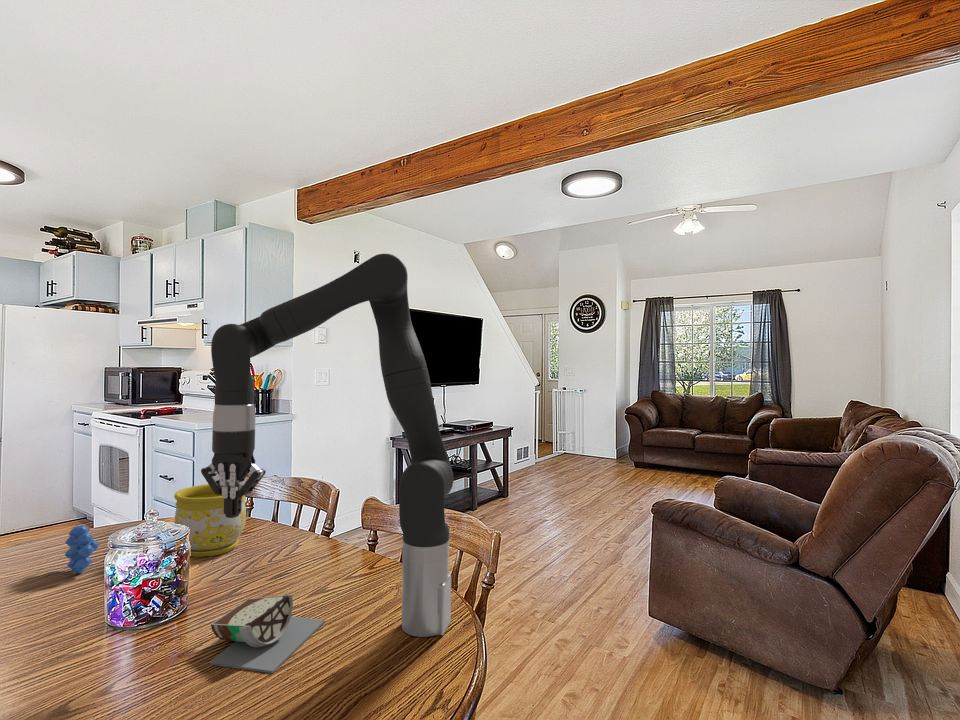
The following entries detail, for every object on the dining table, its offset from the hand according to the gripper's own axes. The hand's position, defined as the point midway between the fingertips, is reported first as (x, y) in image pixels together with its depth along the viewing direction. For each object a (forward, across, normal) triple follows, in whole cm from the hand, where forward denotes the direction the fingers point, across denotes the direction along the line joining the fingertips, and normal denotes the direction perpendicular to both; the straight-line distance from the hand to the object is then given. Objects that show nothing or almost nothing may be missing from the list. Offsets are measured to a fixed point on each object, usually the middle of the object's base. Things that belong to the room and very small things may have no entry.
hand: (232, 516), depth 102 cm
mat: (+22, -10, +2) cm, 24 cm away
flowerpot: (+23, +34, -39) cm, 57 cm away
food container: (+20, -1, +1) cm, 21 cm away
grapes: (+23, +54, -18) cm, 61 cm away
